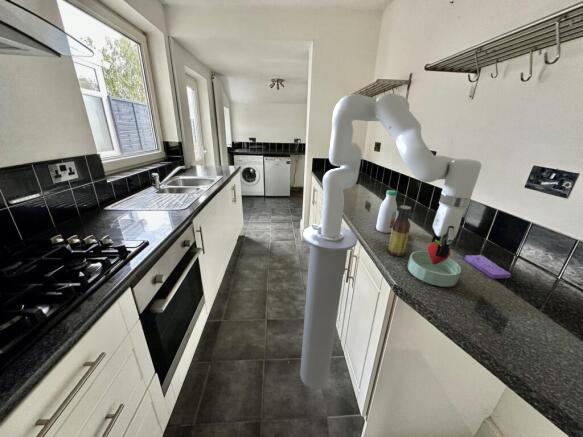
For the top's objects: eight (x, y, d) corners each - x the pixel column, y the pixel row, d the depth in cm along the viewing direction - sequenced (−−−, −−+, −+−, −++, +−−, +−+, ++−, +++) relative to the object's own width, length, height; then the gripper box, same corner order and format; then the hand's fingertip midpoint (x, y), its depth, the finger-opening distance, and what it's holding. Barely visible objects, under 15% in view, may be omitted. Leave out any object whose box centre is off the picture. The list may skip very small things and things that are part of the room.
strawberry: (435, 258, 83) (443, 233, 79) (450, 270, 76) (459, 243, 72) (419, 258, 83) (426, 232, 79) (433, 270, 76) (441, 243, 72)
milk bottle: (383, 234, 110) (392, 193, 103) (372, 228, 117) (379, 189, 109) (395, 232, 113) (404, 192, 106) (384, 226, 120) (391, 188, 112)
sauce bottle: (398, 248, 97) (408, 204, 90) (407, 256, 92) (419, 209, 84) (383, 249, 96) (393, 204, 89) (392, 257, 91) (403, 209, 83)
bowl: (409, 280, 77) (412, 268, 75) (405, 258, 90) (408, 247, 88) (462, 293, 72) (467, 280, 70) (450, 267, 85) (454, 256, 83)
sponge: (480, 259, 92) (481, 254, 91) (510, 278, 80) (512, 273, 80) (463, 259, 91) (465, 255, 91) (491, 278, 80) (493, 274, 79)
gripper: (435, 192, 80) (422, 238, 86) (446, 206, 65) (429, 261, 71) (460, 195, 77) (445, 242, 84) (478, 211, 62) (458, 266, 69)
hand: (438, 250), depth 77 cm, fingers closed on strawberry, 7 cm apart
